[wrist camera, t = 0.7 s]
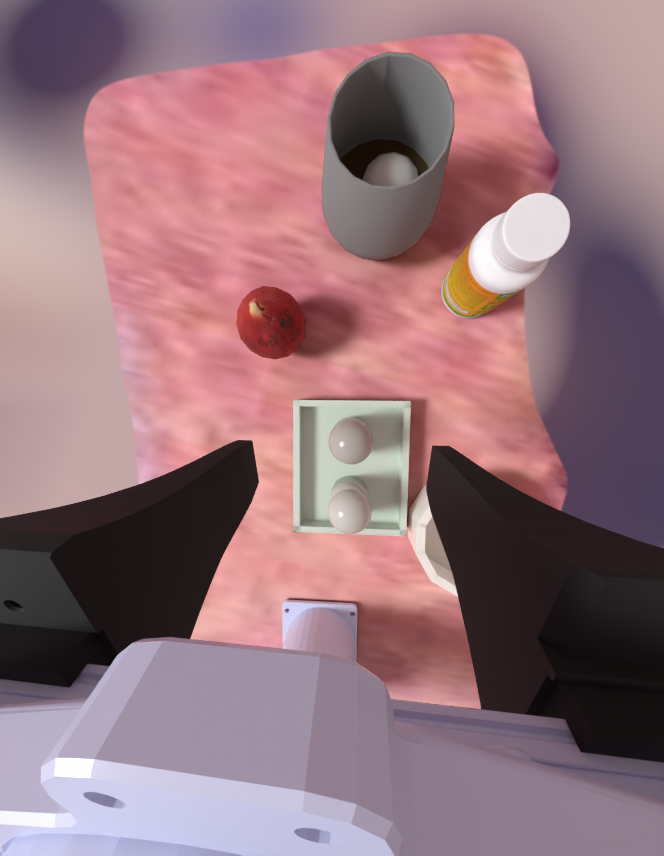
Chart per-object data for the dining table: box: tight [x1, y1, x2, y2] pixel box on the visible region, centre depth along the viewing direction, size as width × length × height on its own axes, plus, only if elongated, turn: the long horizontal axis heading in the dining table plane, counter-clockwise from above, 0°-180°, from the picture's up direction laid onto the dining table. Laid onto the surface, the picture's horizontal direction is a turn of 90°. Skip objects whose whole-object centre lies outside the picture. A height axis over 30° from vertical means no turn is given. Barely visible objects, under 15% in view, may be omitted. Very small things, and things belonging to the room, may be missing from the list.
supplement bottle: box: [442, 193, 570, 319], centre depth 22 cm, size 5×5×10 cm
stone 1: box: [328, 417, 374, 464], centre depth 25 cm, size 4×4×6 cm
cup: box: [322, 52, 454, 260], centre depth 22 cm, size 10×9×10 cm
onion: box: [236, 286, 306, 359], centre depth 24 cm, size 6×6×8 cm
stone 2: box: [328, 476, 372, 534], centre depth 25 cm, size 4×4×6 cm
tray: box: [293, 400, 411, 536], centre depth 28 cm, size 13×11×2 cm
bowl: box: [408, 484, 458, 597], centre depth 27 cm, size 11×11×4 cm
